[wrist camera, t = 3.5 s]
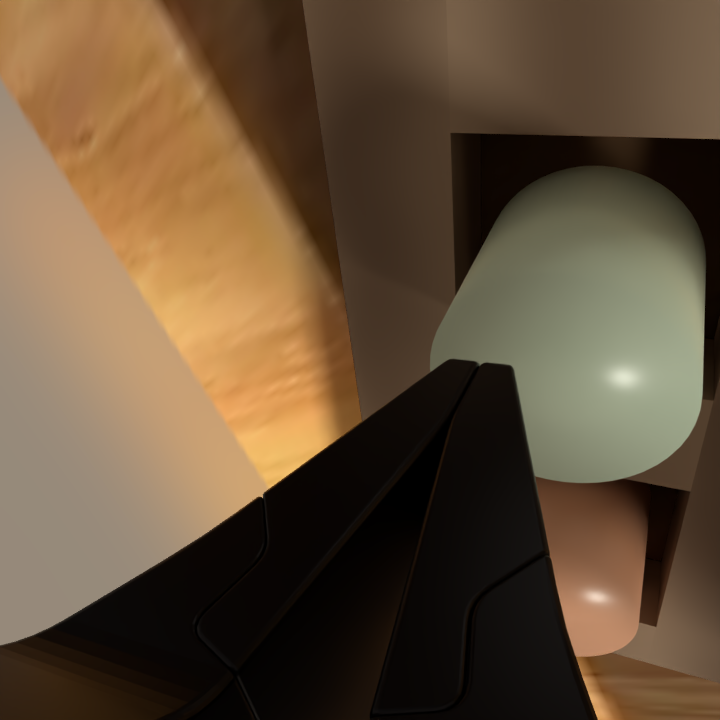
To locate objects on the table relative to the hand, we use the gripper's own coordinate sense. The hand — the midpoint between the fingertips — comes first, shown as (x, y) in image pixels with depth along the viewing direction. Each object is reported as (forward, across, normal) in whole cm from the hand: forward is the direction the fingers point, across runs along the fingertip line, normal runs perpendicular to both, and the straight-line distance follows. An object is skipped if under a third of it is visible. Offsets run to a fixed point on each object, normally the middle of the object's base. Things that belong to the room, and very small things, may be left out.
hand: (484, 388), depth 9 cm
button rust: (+9, 0, +11) cm, 14 cm away
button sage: (+7, -1, +2) cm, 8 cm away
